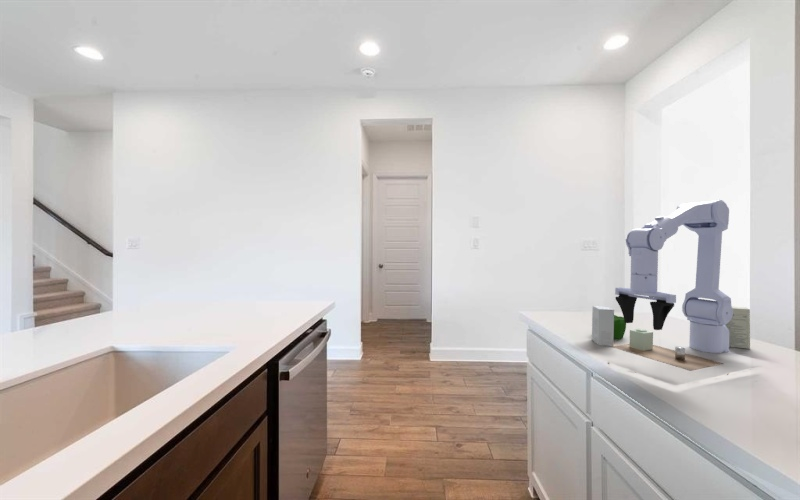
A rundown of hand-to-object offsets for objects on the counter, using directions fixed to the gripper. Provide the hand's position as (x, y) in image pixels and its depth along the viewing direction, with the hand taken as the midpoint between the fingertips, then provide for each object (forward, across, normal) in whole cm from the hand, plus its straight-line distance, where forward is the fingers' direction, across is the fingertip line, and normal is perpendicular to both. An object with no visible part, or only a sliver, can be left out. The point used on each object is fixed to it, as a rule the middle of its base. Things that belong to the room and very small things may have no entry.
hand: (642, 326), depth 88 cm
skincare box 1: (+10, -15, +4) cm, 18 cm away
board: (+10, -1, +10) cm, 14 cm away
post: (+9, +3, +10) cm, 14 cm away
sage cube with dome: (+9, -7, +10) cm, 15 cm away
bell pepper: (+10, -19, +12) cm, 25 cm away
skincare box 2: (+10, -3, +44) cm, 46 cm away
